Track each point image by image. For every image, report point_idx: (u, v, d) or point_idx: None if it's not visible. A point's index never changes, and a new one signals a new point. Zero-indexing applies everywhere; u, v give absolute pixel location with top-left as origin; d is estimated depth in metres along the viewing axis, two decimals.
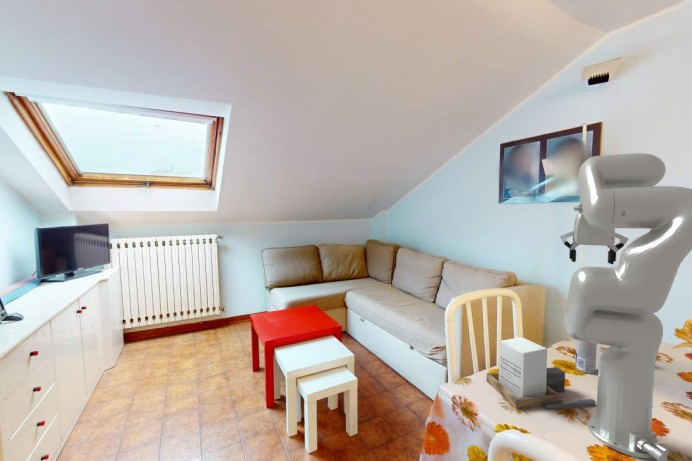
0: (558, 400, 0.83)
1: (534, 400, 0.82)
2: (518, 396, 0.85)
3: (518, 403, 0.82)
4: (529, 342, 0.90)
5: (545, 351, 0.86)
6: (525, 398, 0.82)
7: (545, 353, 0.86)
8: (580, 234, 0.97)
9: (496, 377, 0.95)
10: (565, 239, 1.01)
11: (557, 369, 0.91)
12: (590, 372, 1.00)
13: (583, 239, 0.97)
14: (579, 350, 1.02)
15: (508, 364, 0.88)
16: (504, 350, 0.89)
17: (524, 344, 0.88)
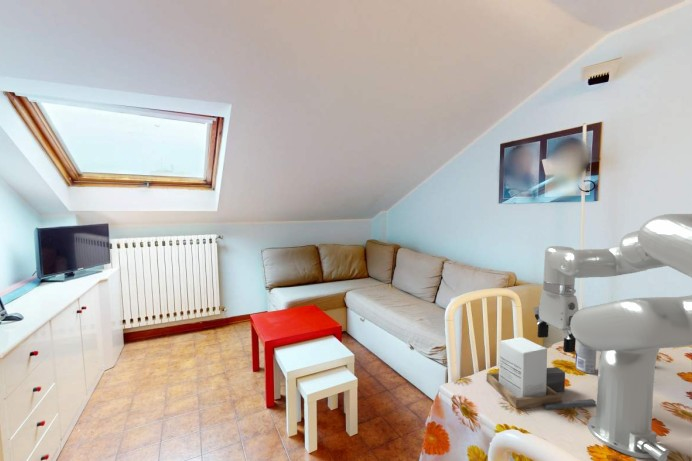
0: (558, 400, 0.83)
1: (534, 400, 0.82)
2: (518, 396, 0.85)
3: (518, 403, 0.82)
4: (529, 342, 0.90)
5: (545, 351, 0.86)
6: (525, 398, 0.82)
7: (545, 353, 0.86)
8: None
9: (496, 377, 0.95)
10: None
11: (557, 369, 0.91)
12: (590, 372, 1.00)
13: None
14: (579, 350, 1.02)
15: (508, 364, 0.88)
16: (504, 350, 0.89)
17: (524, 344, 0.88)
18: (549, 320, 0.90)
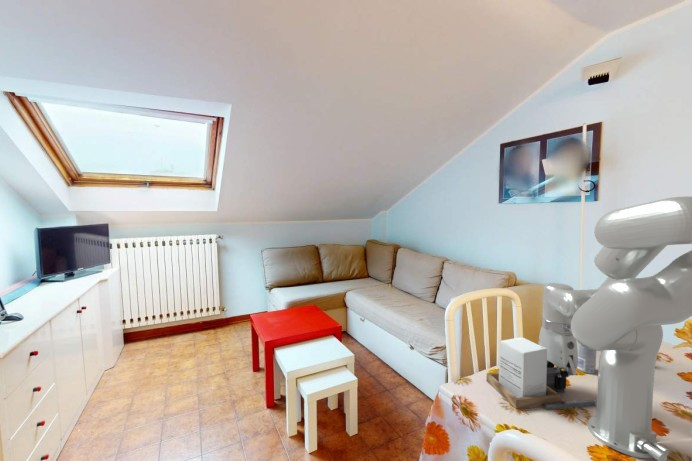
0: (558, 400, 0.83)
1: (534, 400, 0.82)
2: (518, 396, 0.85)
3: (518, 403, 0.82)
4: (529, 342, 0.90)
5: (545, 351, 0.86)
6: (525, 398, 0.82)
7: (545, 353, 0.86)
8: None
9: (496, 377, 0.95)
10: None
11: None
12: (590, 372, 1.00)
13: None
14: (579, 350, 1.02)
15: (508, 364, 0.88)
16: (504, 350, 0.89)
17: (524, 344, 0.88)
18: (549, 357, 0.90)
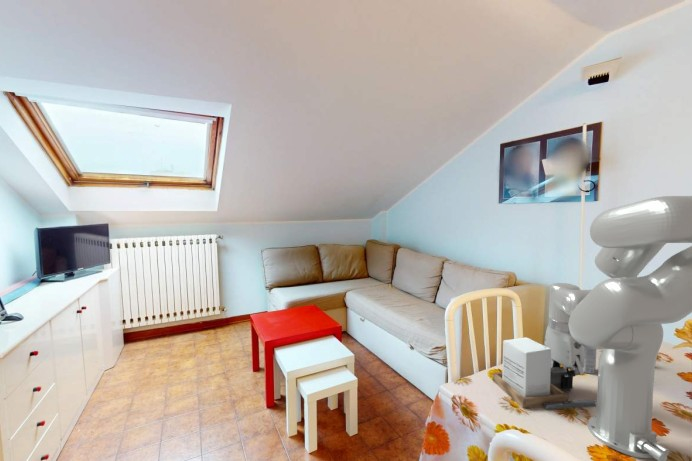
0: (565, 399, 0.84)
1: (541, 400, 0.83)
2: None
3: (525, 402, 0.82)
4: (533, 342, 0.90)
5: (549, 351, 0.85)
6: (532, 397, 0.83)
7: (549, 353, 0.85)
8: None
9: None
10: None
11: None
12: (590, 372, 1.00)
13: None
14: None
15: (511, 363, 0.88)
16: (508, 350, 0.89)
17: (528, 344, 0.88)
18: (555, 357, 0.90)
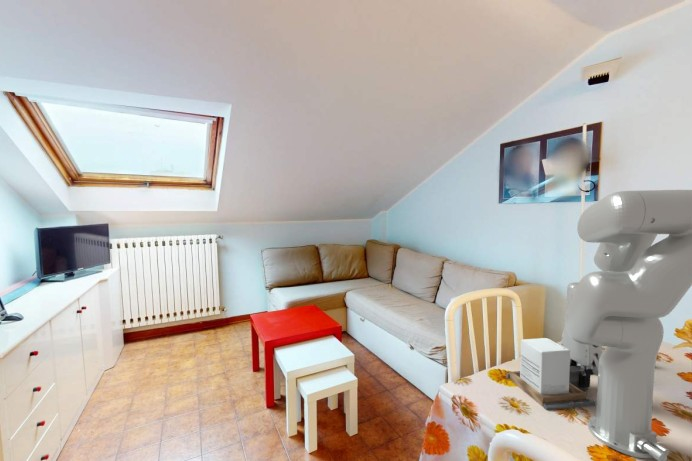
0: (584, 398, 0.84)
1: (560, 398, 0.83)
2: None
3: (545, 401, 0.83)
4: (552, 343, 0.89)
5: (567, 352, 0.85)
6: (551, 396, 0.83)
7: (568, 354, 0.85)
8: None
9: (519, 375, 0.96)
10: None
11: None
12: None
13: None
14: None
15: (528, 362, 0.89)
16: (525, 349, 0.90)
17: (546, 344, 0.88)
18: (572, 356, 0.91)
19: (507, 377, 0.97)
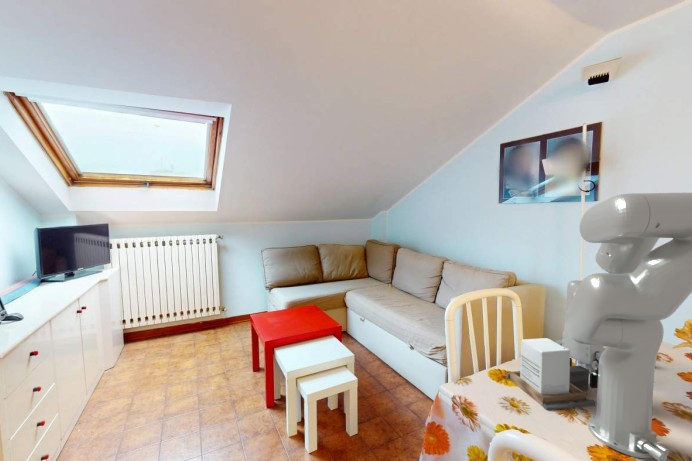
0: (584, 398, 0.84)
1: (560, 398, 0.83)
2: None
3: (545, 401, 0.83)
4: (553, 343, 0.89)
5: (568, 352, 0.85)
6: (551, 396, 0.83)
7: (568, 354, 0.85)
8: None
9: (519, 375, 0.96)
10: None
11: (581, 367, 0.92)
12: (590, 372, 1.00)
13: None
14: None
15: (528, 362, 0.89)
16: (525, 349, 0.90)
17: (546, 344, 0.88)
18: (573, 354, 0.91)
19: (507, 377, 0.97)
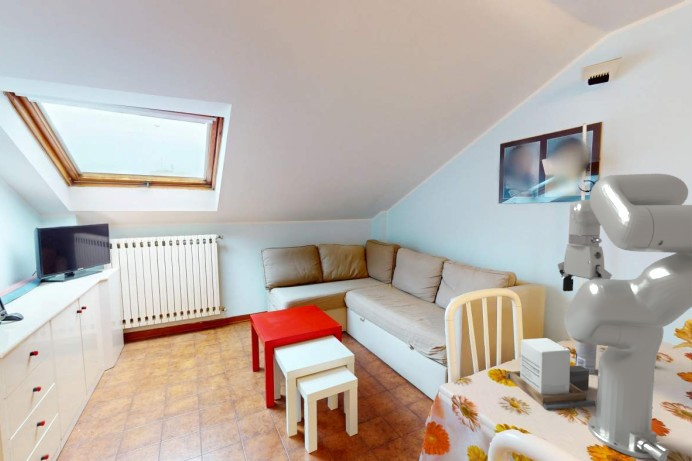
0: (584, 398, 0.84)
1: (560, 398, 0.83)
2: None
3: (545, 401, 0.83)
4: (553, 343, 0.89)
5: (568, 352, 0.85)
6: (551, 396, 0.83)
7: (568, 354, 0.85)
8: None
9: (519, 375, 0.96)
10: None
11: (581, 367, 0.92)
12: (590, 372, 1.00)
13: None
14: (579, 350, 1.02)
15: (528, 362, 0.89)
16: (525, 349, 0.90)
17: (546, 344, 0.88)
18: (575, 272, 0.94)
19: (507, 377, 0.97)
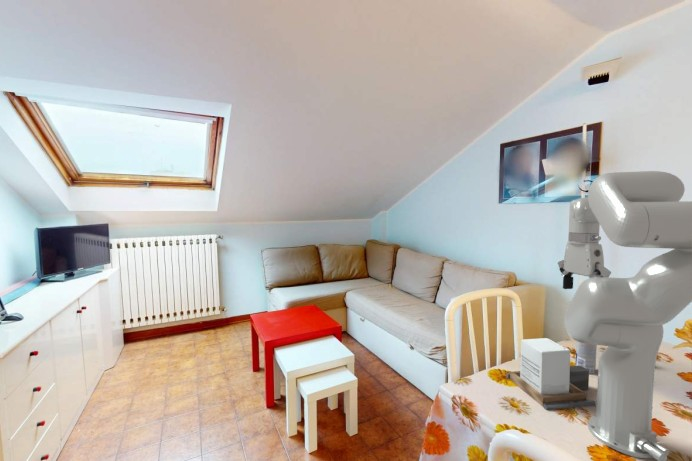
0: (584, 398, 0.84)
1: (560, 398, 0.83)
2: None
3: (545, 401, 0.83)
4: (553, 343, 0.89)
5: (568, 352, 0.85)
6: (551, 396, 0.83)
7: (568, 354, 0.85)
8: None
9: (519, 375, 0.96)
10: None
11: (581, 367, 0.92)
12: (590, 372, 1.00)
13: None
14: (579, 350, 1.02)
15: (528, 362, 0.89)
16: (525, 349, 0.90)
17: (546, 344, 0.88)
18: (575, 269, 0.95)
19: (507, 377, 0.97)
